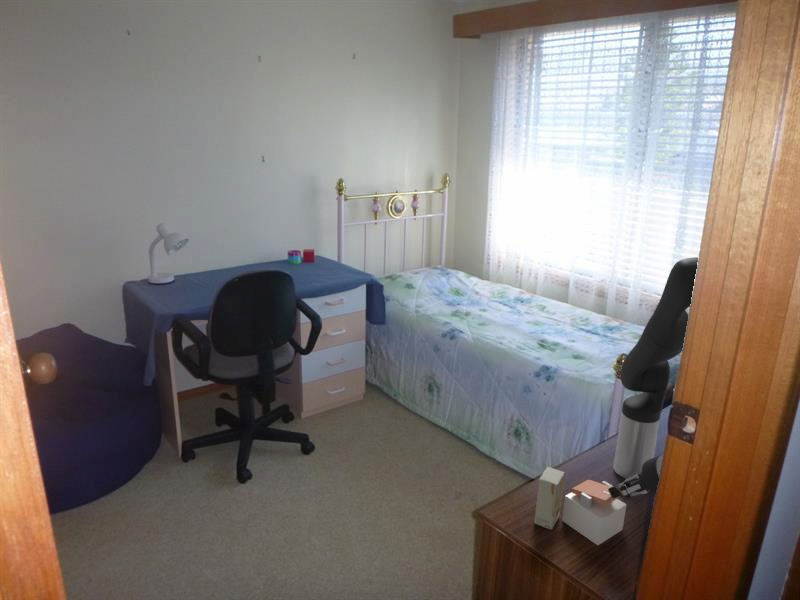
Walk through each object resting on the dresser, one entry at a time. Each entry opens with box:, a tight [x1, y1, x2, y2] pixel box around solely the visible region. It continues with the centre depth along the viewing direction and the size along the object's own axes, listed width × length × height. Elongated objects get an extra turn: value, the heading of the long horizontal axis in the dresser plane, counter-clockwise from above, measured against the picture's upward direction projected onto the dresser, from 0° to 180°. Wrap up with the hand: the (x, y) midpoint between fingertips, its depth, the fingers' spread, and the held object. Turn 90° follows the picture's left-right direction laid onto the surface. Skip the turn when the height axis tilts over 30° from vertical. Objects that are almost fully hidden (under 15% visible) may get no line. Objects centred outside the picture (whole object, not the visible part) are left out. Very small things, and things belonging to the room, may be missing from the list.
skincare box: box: [534, 466, 565, 530], centre depth 138 cm, size 6×4×12 cm
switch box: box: [561, 480, 627, 546], centre depth 137 cm, size 9×10×10 cm
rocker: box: [571, 479, 621, 505], centre depth 135 cm, size 6×9×2 cm, turn 36°
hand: (612, 492), depth 132 cm, fingers closed
